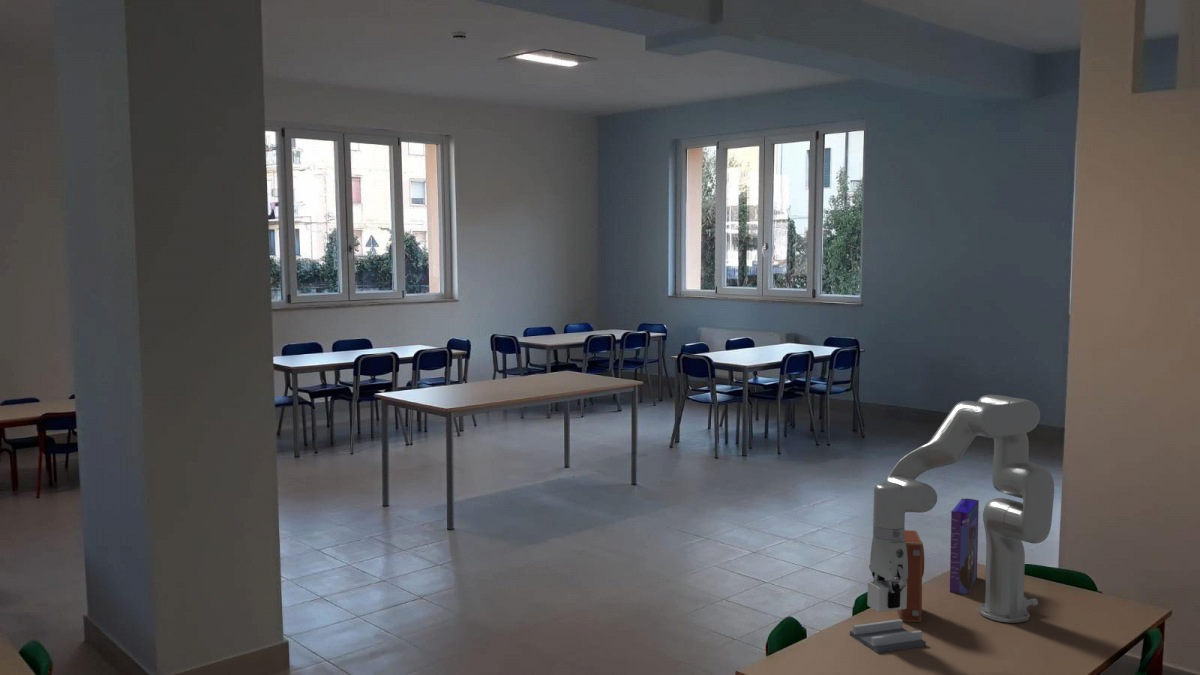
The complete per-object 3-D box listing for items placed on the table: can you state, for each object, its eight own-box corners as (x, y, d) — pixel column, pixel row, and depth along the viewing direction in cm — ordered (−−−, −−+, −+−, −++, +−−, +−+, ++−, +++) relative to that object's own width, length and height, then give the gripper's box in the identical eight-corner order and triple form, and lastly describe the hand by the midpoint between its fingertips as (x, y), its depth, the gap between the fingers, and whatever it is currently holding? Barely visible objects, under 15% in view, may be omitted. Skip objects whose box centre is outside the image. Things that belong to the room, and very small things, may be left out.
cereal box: (967, 594, 268) (969, 512, 266) (949, 592, 271) (951, 510, 269) (977, 577, 283) (978, 499, 281) (960, 575, 285) (962, 497, 284)
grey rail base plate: (896, 628, 244) (896, 617, 243) (925, 645, 232) (925, 633, 232) (849, 634, 239) (849, 623, 239) (877, 652, 228) (877, 641, 228)
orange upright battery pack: (917, 604, 261) (924, 624, 246) (891, 603, 262) (897, 622, 247) (918, 529, 259) (926, 545, 244) (892, 528, 260) (898, 543, 246)
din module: (894, 602, 239) (895, 578, 238) (906, 608, 234) (907, 585, 234) (867, 605, 236) (867, 582, 236) (878, 612, 232) (879, 588, 231)
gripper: (922, 540, 227) (920, 613, 228) (881, 522, 243) (880, 591, 244) (896, 543, 225) (894, 617, 226) (856, 525, 241) (855, 594, 242)
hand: (887, 602), depth 235 cm, fingers closed on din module, 5 cm apart
